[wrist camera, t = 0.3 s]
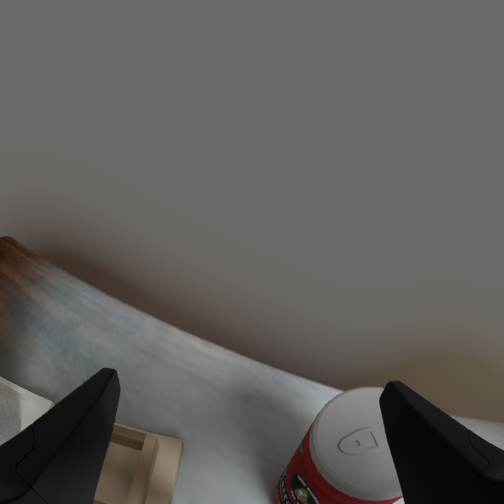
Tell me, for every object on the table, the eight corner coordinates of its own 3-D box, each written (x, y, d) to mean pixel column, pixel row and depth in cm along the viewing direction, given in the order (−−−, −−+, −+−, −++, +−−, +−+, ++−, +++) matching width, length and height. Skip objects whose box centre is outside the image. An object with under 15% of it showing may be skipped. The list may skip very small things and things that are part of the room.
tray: (23, 487, 13) (13, 479, 12) (-42, 441, 13) (-52, 430, 12) (58, 412, 21) (52, 401, 20) (-5, 381, 21) (-12, 369, 20)
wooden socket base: (162, 548, 12) (156, 544, 11) (31, 497, 12) (12, 483, 11) (183, 445, 21) (182, 428, 20) (69, 412, 21) (58, 392, 20)
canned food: (255, 481, 19) (285, 414, 14) (335, 446, 23) (387, 368, 18) (301, 553, 13) (367, 525, 8) (381, 505, 17) (461, 444, 12)
